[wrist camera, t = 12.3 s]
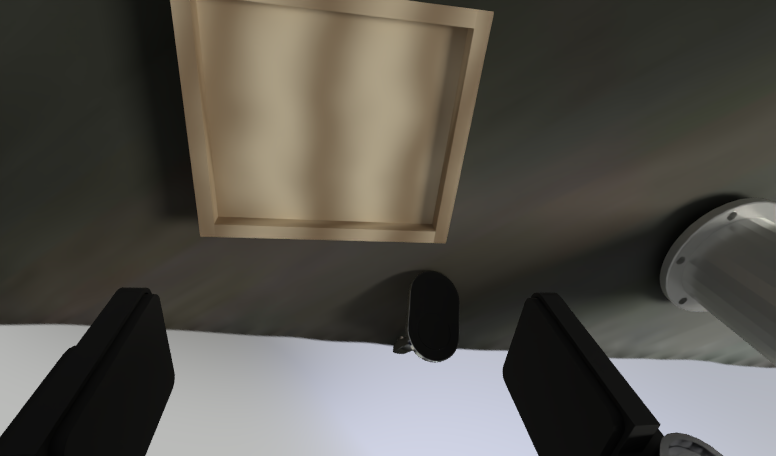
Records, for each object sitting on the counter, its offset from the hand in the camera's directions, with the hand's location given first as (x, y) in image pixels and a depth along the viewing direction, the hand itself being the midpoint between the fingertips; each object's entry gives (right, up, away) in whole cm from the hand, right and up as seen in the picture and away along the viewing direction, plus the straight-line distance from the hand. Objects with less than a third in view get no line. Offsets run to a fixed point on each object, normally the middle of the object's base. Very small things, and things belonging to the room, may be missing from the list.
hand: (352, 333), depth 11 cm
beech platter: (-3, +11, +19) cm, 22 cm away
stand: (+4, -3, +30) cm, 30 cm away
